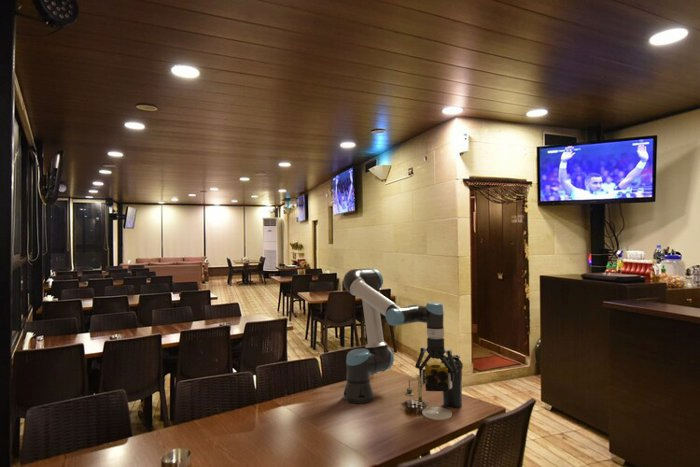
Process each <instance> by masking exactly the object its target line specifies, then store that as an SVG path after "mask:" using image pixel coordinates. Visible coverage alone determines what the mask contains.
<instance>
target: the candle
mask: <svg viewBox="0 0 700 467" xmlns="http://www.w3.org/2000/svg"><path fill="white" fill-rule="evenodd" d="M424 369H425V384H424V385H425V391H426V392H442V393H443V392H448V391H449V386H448V385H449V384H448V368H446V366H445V365H444V363H441V362H427V364H425V366H424Z"/></svg>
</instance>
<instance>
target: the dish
mask: <svg viewBox="0 0 700 467" xmlns="http://www.w3.org/2000/svg"><path fill="white" fill-rule="evenodd" d="M422 416H423V417H424V418H426V419H430V420H434V421H445V420H449V419H451V418H452V416H453V412H452V410H450V409H449V408H447V407H440V406H430V407H426V408H423V409H422Z"/></svg>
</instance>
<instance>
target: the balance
mask: <svg viewBox="0 0 700 467" xmlns="http://www.w3.org/2000/svg"><path fill="white" fill-rule="evenodd" d="M407 381H408V388H406V391H405V392H404V393H403V394H404V396H405V397H414V396H416V394H415V392H413V389H412V388H411V382H415V381H417V397H418V399H415V400H414V401H419V402H422V401H423V402H424V403H425V405H426V406H427V405H428V404H429V402H428V401H424V400H423V385H422V383H421V377H420V376H419V375H417V377H409V378H407Z"/></svg>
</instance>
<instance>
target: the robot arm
mask: <svg viewBox="0 0 700 467" xmlns="http://www.w3.org/2000/svg"><path fill="white" fill-rule="evenodd" d="M342 284H343V287H344V288H345V290H346V291H347V292H348V293H349V294H351V295H352V296H355V297H358V298H360V299H361V300H362V301H361V302H362V308H363V316H364V317H363V318H364V322H365V323H364V324H365V325H364V326H365V332H366V338H367V339H366V340H367V344H366V345H365V348H355V349H352V350H349V351H348V352H347V354H346V362H345V363H346V364H345V365H346V384H345V388H344V390H343V393H342V395H343V397H342V398H343V400H344V401H345V402H346V403H351V404H366V403H369V402H371V401H373V400H374V398H375V396H374V391H373V388H372V384H371V375H374V374H377V373H382V372H383V373H384V372H385V371H388V370H390V369H391V368H392V366H393V365H394V360H395V357H394V356H395V355H394V352H393V351H392V349H391V348H390V347H388V343H387V342H386V341H385V340H384V333H383V325H382V318H381V315H383V316H384V317H385V321H386V322H387V324H388V325H389V326H392V327H394V326H397V327H399V326H402V325H407V324H414V323H424V324H426V336H427V337H426V345H427V346H426V347H425V346H422V347H420V351H419V352H420V353H419V355H418V358H417V361H416V363H415V365H414V367H415V368H416V369H418V371H419V376H420V377H421V383H422V386H424V385H425V364H427V363H429V361H430V360H431V359H433V360H434V359H436V360H440V362H441V361H442V362H443V363H444V365H445V366H446V368H448V371H449V372H450V373H449V374H448V380H449V389H451V388H452V381H454V373H457V372H458V368H457V366H456V364H455V361H454V359H453V354H452V353H453V352H452V351H453V350H451V349H445V338H444V337H445V328H444V313H445V312H444V305H443V304H442V303H441V302H426V306H424V305H417V304H409V305H408V306H403V307H402V306H399V305H398V304H397V303H395V302H394V301H392V300H390V299H389V298H388V297H386V296H384V295H383V294H382V293H381V290H380V289H381V288H382V287H383V285H384V278H383V276H382V273H381V272H380V271H379V270H378V269H377V268H353V269H350V270H348V271H347V272H346V273H345V274H344V276H343V281H342ZM426 352H427V355H426V358H424V355H425V353H426ZM445 354H446V356H447V357H448V359H449V361H450V363H451V366H452V367H451V366H450V364H449V363H448V361H447V360H446V358H445V356H444V355H445ZM423 358H424V360H423ZM422 360H423V361H422ZM452 368H453V369H452Z"/></svg>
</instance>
